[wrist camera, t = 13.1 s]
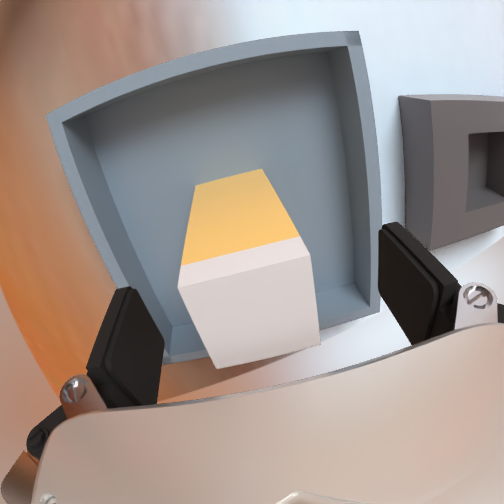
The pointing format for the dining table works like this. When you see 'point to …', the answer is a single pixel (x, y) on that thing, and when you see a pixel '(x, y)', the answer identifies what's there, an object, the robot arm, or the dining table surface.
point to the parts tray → (231, 166)
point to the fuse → (247, 273)
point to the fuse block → (452, 166)
